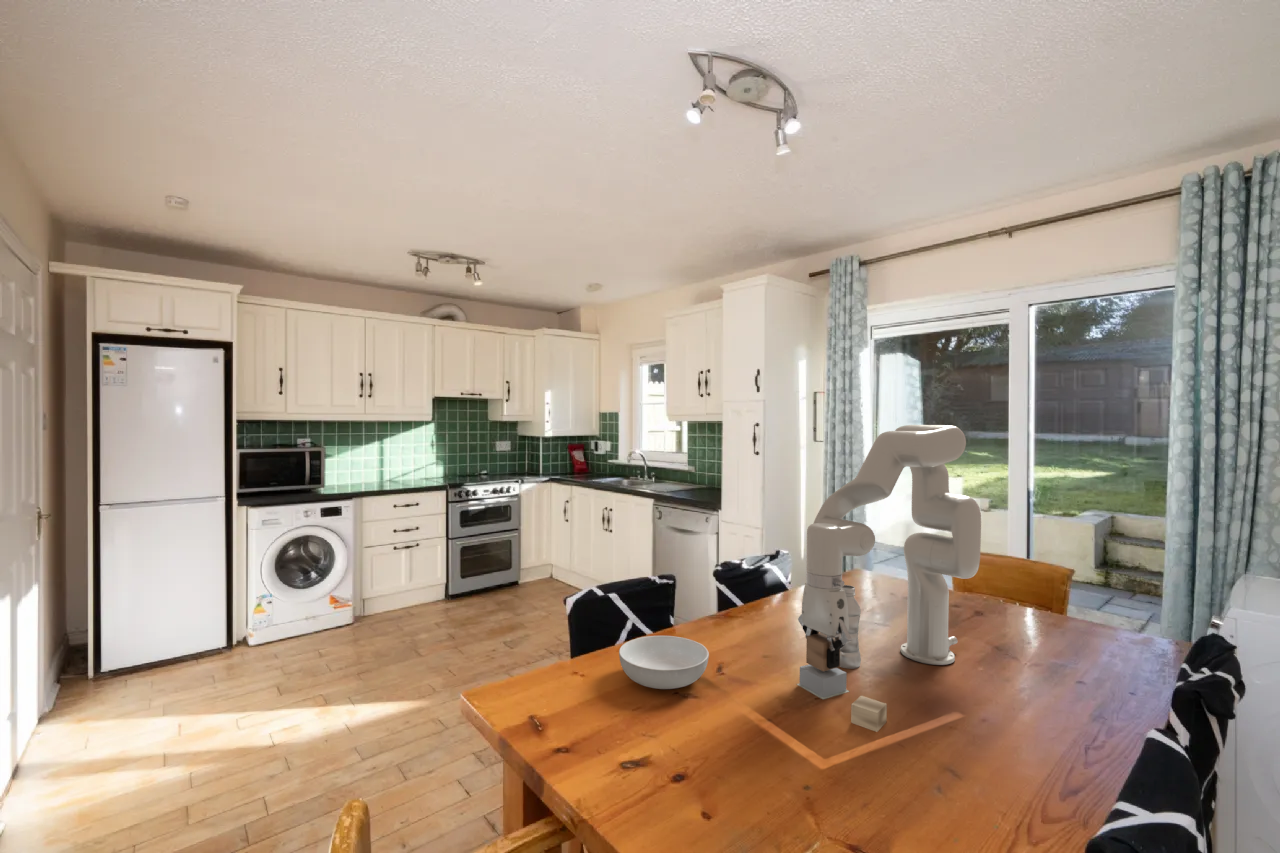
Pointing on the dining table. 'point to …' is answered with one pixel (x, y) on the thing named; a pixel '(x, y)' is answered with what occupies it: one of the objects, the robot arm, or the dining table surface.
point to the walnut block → (818, 651)
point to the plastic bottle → (851, 632)
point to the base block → (823, 680)
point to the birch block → (868, 713)
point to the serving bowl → (663, 661)
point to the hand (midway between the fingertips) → (823, 661)
